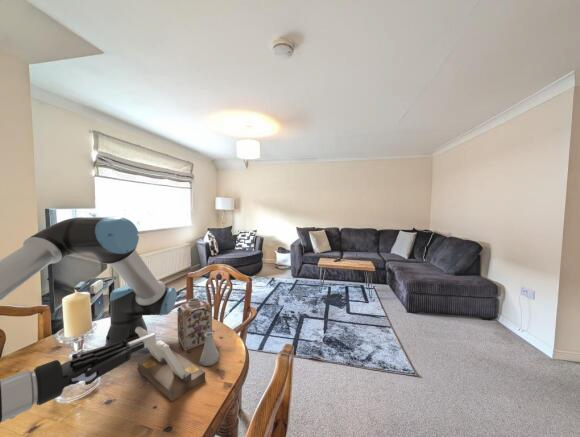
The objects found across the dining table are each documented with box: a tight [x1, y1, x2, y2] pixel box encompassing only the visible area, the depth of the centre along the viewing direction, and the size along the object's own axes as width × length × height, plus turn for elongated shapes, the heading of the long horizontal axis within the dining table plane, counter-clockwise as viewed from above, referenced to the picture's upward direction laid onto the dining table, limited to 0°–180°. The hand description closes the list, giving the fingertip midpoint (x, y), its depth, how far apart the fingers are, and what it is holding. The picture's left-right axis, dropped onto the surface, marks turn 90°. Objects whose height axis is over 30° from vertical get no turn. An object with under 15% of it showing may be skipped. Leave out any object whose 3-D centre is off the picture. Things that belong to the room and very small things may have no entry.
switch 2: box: [155, 339, 186, 380], centre depth 71 cm, size 2×6×14 cm, turn 55°
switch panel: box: [137, 348, 206, 402], centre depth 78 cm, size 11×24×4 cm, turn 54°
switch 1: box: [135, 327, 163, 362], centre depth 79 cm, size 2×6×14 cm, turn 55°
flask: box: [198, 331, 221, 367], centre depth 85 cm, size 7×7×10 cm
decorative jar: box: [177, 297, 213, 352], centre depth 99 cm, size 12×12×18 cm
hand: (154, 338), depth 66 cm, fingers closed
